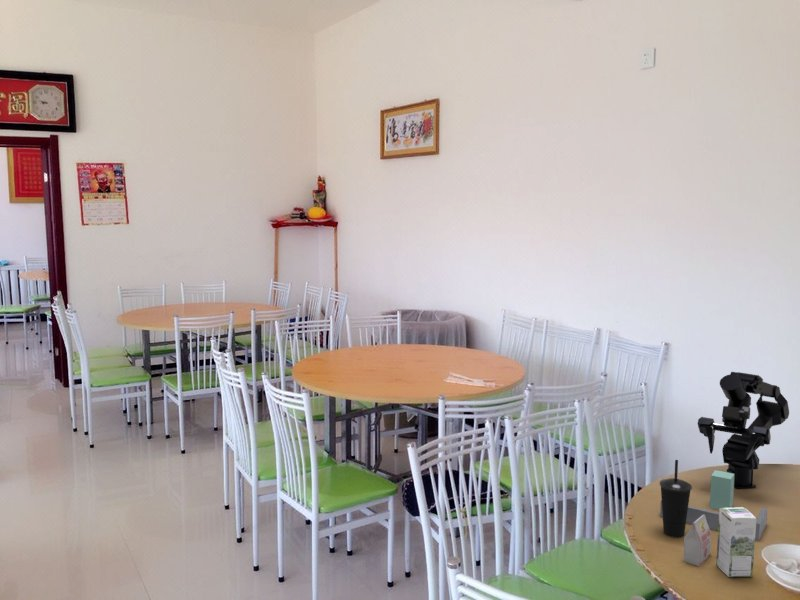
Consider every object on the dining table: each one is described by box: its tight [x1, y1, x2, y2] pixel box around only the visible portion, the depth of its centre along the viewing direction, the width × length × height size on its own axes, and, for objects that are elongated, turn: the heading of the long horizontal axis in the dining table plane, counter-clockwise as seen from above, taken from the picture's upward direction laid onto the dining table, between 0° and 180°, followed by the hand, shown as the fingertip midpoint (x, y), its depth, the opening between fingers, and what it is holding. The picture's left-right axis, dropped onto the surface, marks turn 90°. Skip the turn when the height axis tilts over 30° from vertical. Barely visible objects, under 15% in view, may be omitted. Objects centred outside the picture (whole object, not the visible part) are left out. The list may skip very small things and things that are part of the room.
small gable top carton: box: [683, 515, 712, 567], centre depth 161 cm, size 4×7×10 cm, turn 136°
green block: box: [709, 469, 735, 511], centre depth 188 cm, size 5×5×10 cm
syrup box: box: [715, 506, 757, 578], centre depth 154 cm, size 6×6×14 cm
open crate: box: [659, 499, 768, 542], centre depth 180 cm, size 12×24×5 cm, turn 53°
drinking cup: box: [659, 459, 693, 539], centre depth 172 cm, size 8×8×20 cm
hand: (728, 456), depth 192 cm, fingers open, 9 cm apart
